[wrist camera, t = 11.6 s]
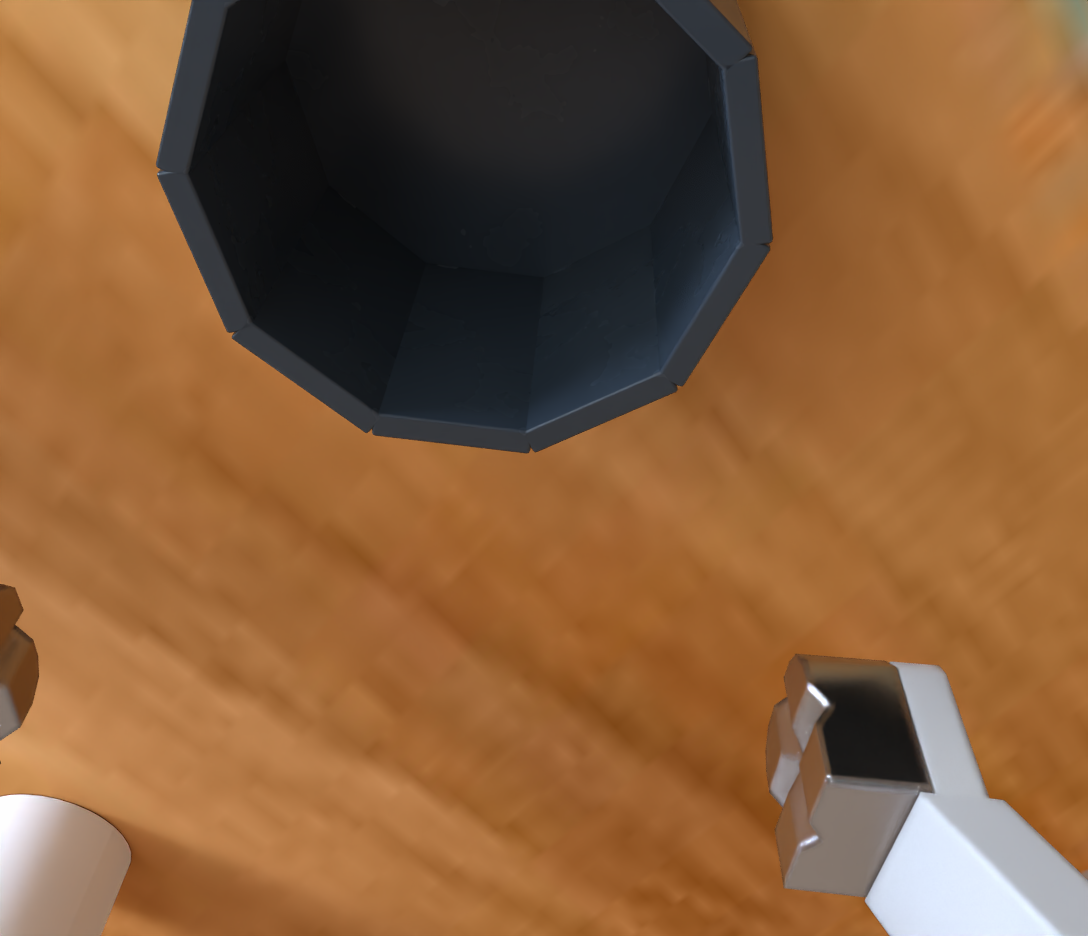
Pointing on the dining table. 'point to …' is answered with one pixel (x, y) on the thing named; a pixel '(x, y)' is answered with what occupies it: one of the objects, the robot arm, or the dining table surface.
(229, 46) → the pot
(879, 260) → the dining table surface
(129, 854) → the cylindrical container
